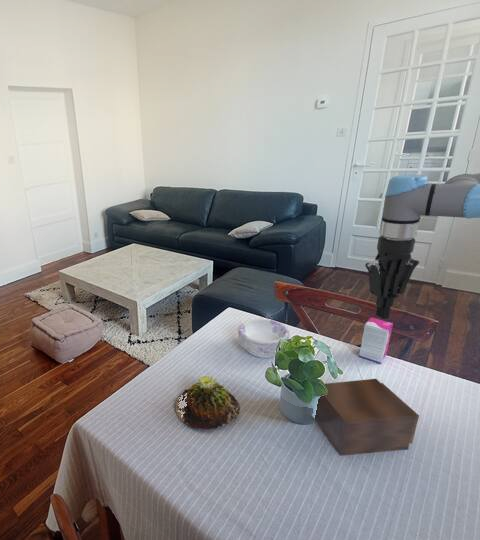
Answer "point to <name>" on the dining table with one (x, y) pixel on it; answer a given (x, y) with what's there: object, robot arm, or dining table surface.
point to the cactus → (208, 405)
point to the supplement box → (375, 340)
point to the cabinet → (364, 418)
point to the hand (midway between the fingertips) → (382, 316)
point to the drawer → (413, 411)
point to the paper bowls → (262, 336)
